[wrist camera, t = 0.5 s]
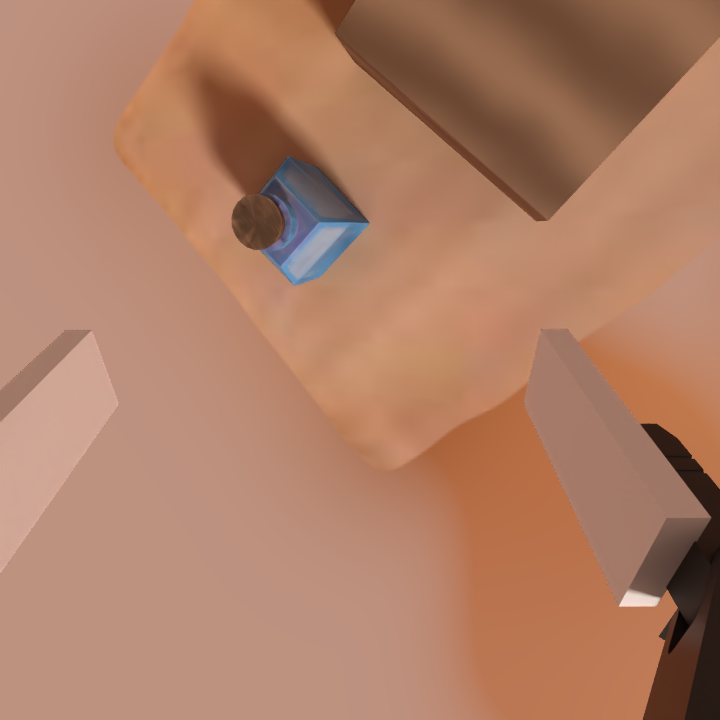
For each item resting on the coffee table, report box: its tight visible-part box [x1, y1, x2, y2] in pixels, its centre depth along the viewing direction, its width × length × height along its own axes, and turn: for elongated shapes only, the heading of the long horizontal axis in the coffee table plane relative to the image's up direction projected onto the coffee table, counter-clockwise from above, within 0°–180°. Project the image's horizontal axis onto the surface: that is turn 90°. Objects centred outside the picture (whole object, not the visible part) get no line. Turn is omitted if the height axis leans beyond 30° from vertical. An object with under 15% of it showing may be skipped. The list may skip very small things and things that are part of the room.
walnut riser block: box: [335, 0, 720, 221], centre depth 30 cm, size 16×18×6 cm
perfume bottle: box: [232, 156, 370, 286], centre depth 33 cm, size 6×6×12 cm
